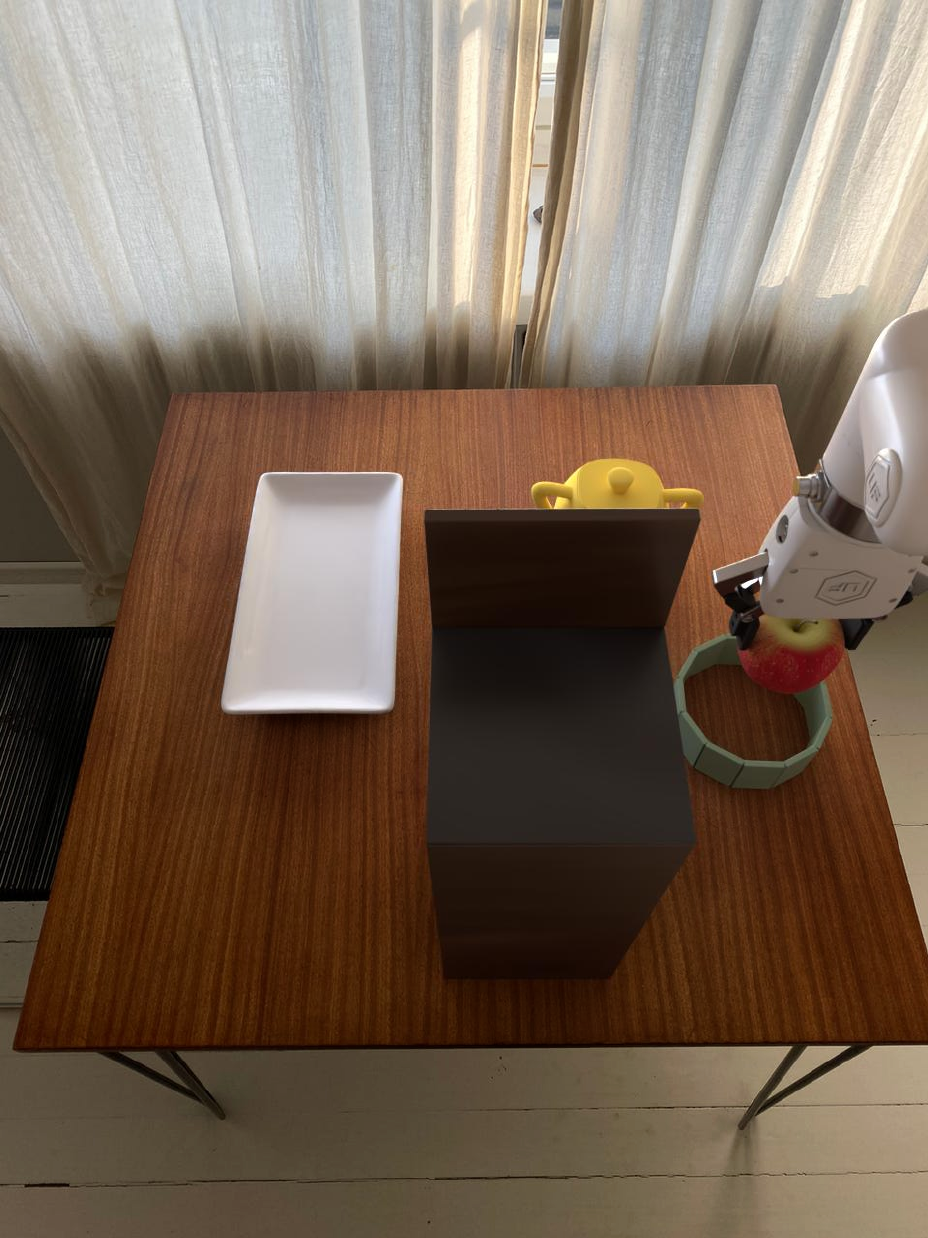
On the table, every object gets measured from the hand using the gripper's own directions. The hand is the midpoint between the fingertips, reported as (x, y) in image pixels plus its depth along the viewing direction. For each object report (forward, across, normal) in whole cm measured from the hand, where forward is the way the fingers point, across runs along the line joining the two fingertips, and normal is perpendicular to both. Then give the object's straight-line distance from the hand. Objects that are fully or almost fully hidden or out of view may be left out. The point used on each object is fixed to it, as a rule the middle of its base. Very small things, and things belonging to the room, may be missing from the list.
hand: (792, 635), depth 72 cm
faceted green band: (+17, 0, +1) cm, 17 cm away
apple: (+6, 0, 0) cm, 6 cm away
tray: (+16, -43, +16) cm, 48 cm away
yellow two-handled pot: (+16, -12, +21) cm, 29 cm away
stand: (+17, -22, -16) cm, 32 cm away
